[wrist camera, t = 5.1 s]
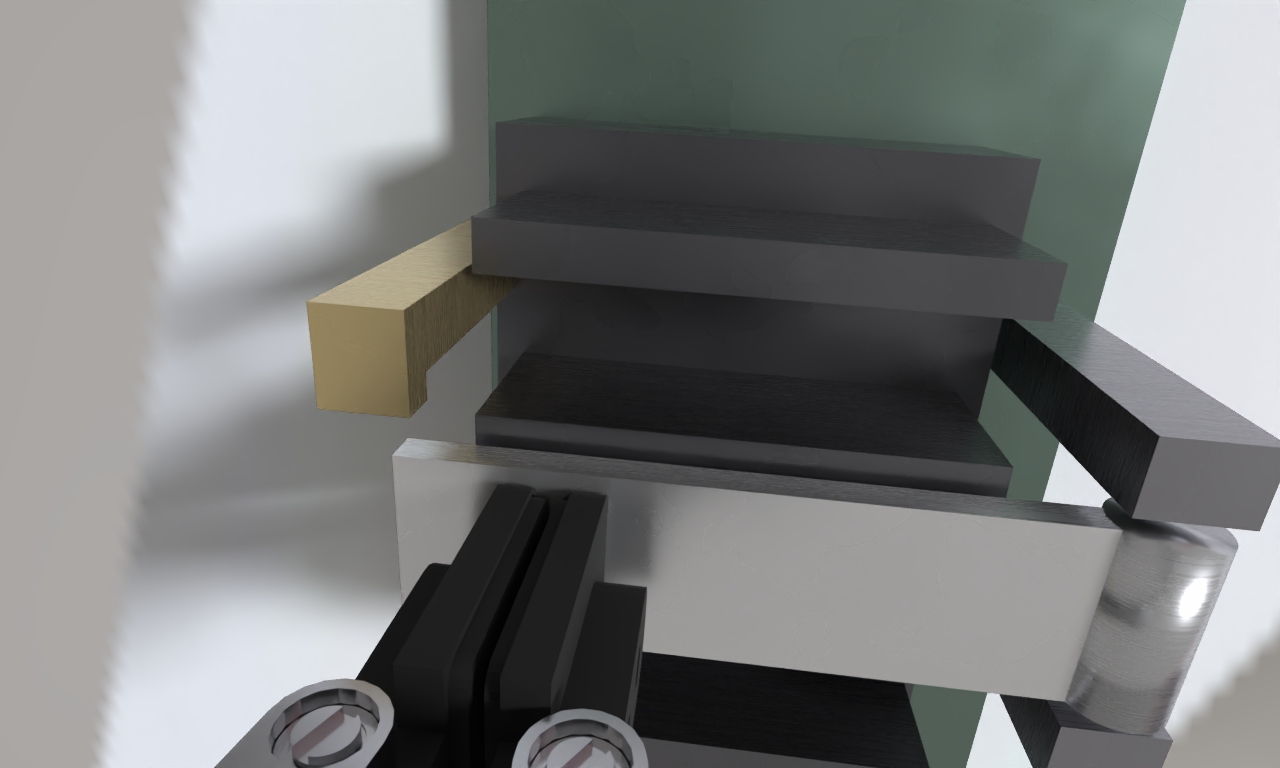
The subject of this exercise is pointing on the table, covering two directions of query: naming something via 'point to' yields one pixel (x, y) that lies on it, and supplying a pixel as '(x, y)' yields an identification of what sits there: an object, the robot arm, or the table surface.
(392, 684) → the robot arm
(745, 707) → the circuit board
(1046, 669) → the retention strap
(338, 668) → the table surface
